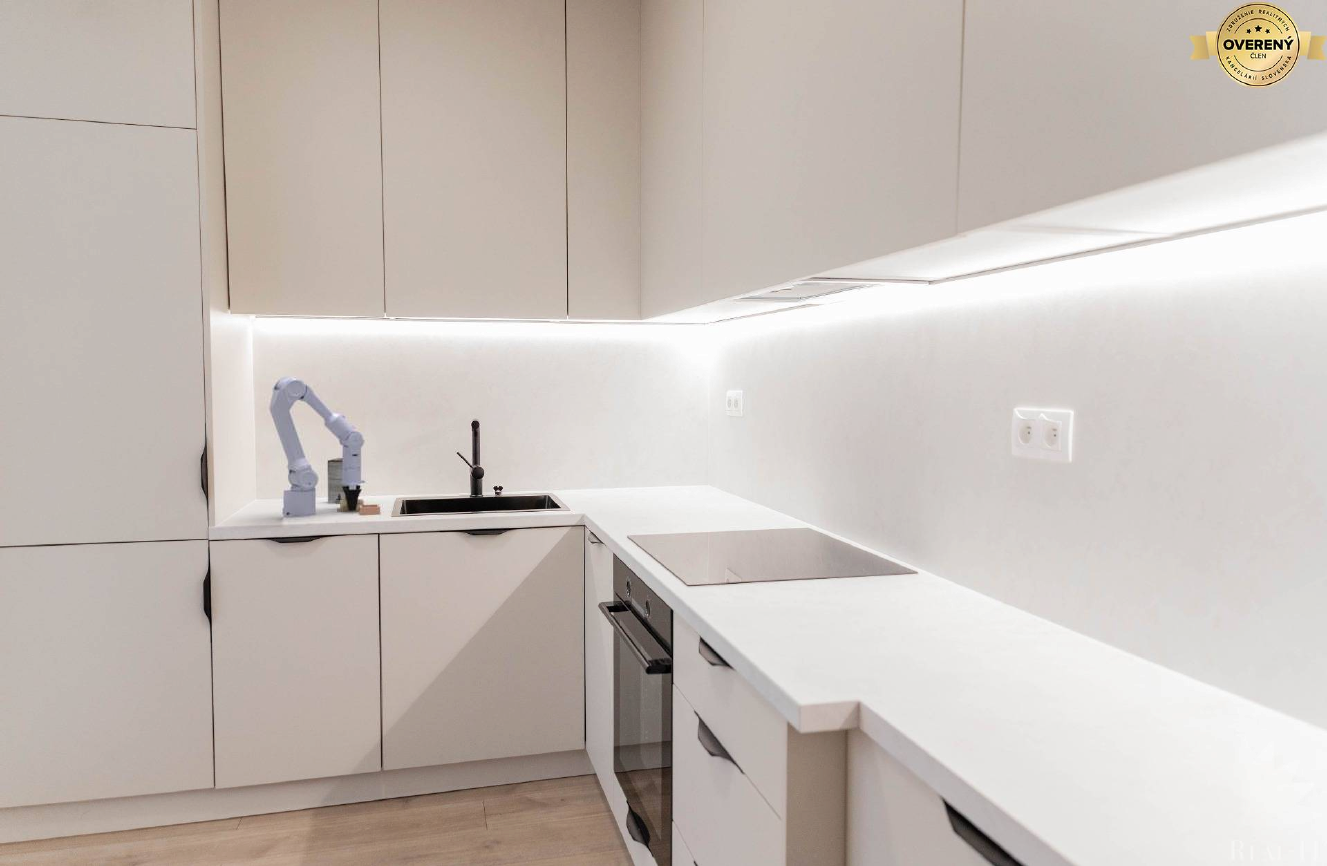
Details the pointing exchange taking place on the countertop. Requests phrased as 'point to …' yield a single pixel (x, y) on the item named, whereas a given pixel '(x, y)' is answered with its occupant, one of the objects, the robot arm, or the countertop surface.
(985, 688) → the countertop surface
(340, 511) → the mat
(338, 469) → the coffee box
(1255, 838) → the countertop surface
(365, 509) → the pink square tray
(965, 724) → the countertop surface
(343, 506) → the tan rectangular block
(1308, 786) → the countertop surface
